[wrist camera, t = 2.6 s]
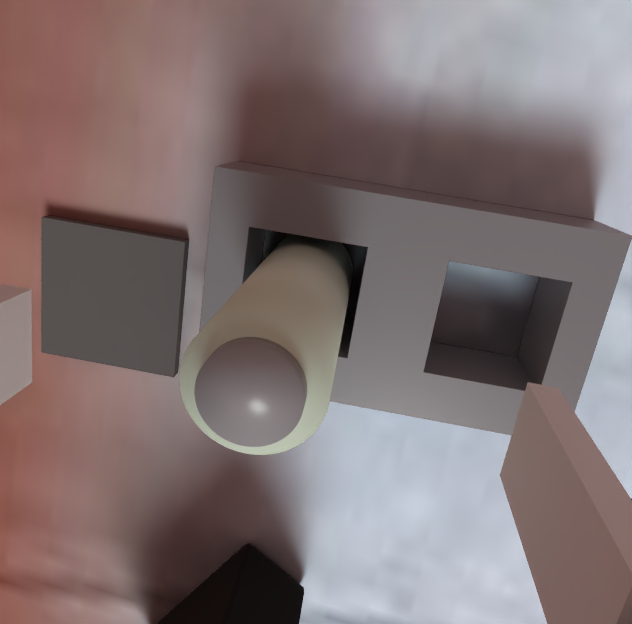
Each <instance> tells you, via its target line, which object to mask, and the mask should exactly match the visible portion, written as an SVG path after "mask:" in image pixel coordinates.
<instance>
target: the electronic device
mask: <svg viewBox="0 0 632 624" xmlns="http://www.w3.org/2000/svg"><path fill="white" fill-rule="evenodd" d="M303 595H304V588H303V587H302V586H301V585H300V584H299V583H297V582H296V581H295V580H294V579H292V578H291V577H290V576H289V575H288V574H286V573H285V572H284V571H283V570H281V569H280V568H279V567H278V566H276V565H275V564H274V563H273V562H272V561H270V560H269V559H268V558H267V557H265V556H264V555H263V554H262V553H261V552H259V551H258V550H257V549H256V548H254V547H253V546H252V545H251V544H246V545H245V546H243V547H242V548H241V549H240V550H239V551H238V552H237V553H236V554H234V555H233V556H232V557H231V558H230V559H229V560H228V561H227V562H225V563H224V564H223V565H222V566H221V567H220V568H219V569H218V570H217V571H215V572H214V573H213V574H212V575H211V576H210V577H209V578H208V579H207V580H205V581H204V582H203V583H202V584H201V585H200V586H199V587H198V588H196V589H195V590H194V591H193V592H192V593H191V594H190V595H189V596H188V597H186V598H185V599H184V600H183V601H182V602H181V603H180V604H179V605H178V606H176V607H175V608H174V609H173V610H172V611H171V612H170V613H169V614H167V615H166V616H165V617H164V618H163V619H162V620H161V621H160V622H159V623H158V624H299V620H300V614H301V608H302V602H303Z"/></svg>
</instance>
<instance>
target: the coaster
mask: <svg viewBox="0 0 632 624" xmlns="http://www.w3.org/2000/svg"><path fill="white" fill-rule="evenodd" d="M188 245H189V240H187V239H181V238H175V237H170V236H164V235H158V234H153V233H147V232H141V231H135V230H130V229H124V228H118V227H112V226H107V225H101V224H95V223H89V222H84V221H78V220H72V219H67V218H61V217H55V216H49V215H48V216H44V217H42V352H43V353H48V354H53V355H59V356H64V357H69V358H75V359H80V360H85V361H91V362H96V363H101V364H107V365H112V366H117V367H123V368H128V369H133V370H138V371H144V372H149V373H154V374H160V375H165V376H170V377H174V376H175V375H176V374H177V373H178V365H179V353H180V341H181V329H182V317H183V305H184V293H185V281H186V269H187V257H188Z"/></svg>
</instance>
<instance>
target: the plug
mask: <svg viewBox="0 0 632 624" xmlns="http://www.w3.org/2000/svg"><path fill="white" fill-rule="evenodd" d="M352 277H353V266H352V261H351V258H350V256H349V253H348V251H347V250H346V248H345V247H344V246H343V244H342V243H341V242H335V241H330V240H324V239H318V238H312V237H306V236H301V235H295V234H290V235H289V236H287V237H285V238H284V239H283V240H282V241H281V242H280V243H279V244H278V245H277V246H276V247H275V249H274V250H273V251H272V252H271V253H270V254H269V255H268V256H267V257H266V259H265V260H264V261H263V262H262V263H261V264H260V265H259V266H258V267H257V269H256V270H255V271H254V272H253V273H252V274H251V275H250V276H249V278H248V279H247V280H246V281H245V282H244V283H243V284H242V285H241V286H240V288H239V289H238V290H237V291H236V292H235V293H234V294H233V295H232V296H231V298H230V299H229V300H228V301H227V302H226V303H225V304H224V305H223V307H222V308H221V309H220V310H219V311H218V312H217V313H216V314H215V315H214V317H213V318H212V319H211V320H210V321H209V322H208V323H207V324H206V326H205V327H204V328H203V329H202V330H201V331H200V332H199V333H198V334H197V336H196V337H195V338H194V339H193V340H192V341H191V343H190V344H189V346H188V347H187V349H186V351H185V354H184V356H183V359H182V362H181V366H180V372H179V385H180V392H181V396H182V400H183V402H184V405H185V407H186V410H187V411H188V413H189V415H190V417H191V418H192V420H193V421H194V422H195V424H196V425H197V426H198V427H199V428H200V429H201V430H202V431H203V432H204V433H205V434H206V435H207V436H209V437H210V438H211V439H213V440H214V441H216V442H217V443H219V444H221V445H223V446H225V447H226V448H229V449H232V450H234V451H237V452H241V453H245V454H253V455H269V454H276V453H280V452H284V451H287V450H289V449H292V448H294V447H296V446H298V445H300V444H301V443H302V442H304V441H305V440H307V439H308V438H309V437H310V436H311V435H312V434H313V433H314V432H315V431H316V430H317V428H318V427H319V426H320V424H321V422H322V421H323V419H324V417H325V414H326V412H327V409H328V405H329V401H330V396H331V390H332V385H333V380H334V374H335V369H336V364H337V358H338V353H339V348H340V342H341V337H342V331H343V326H344V321H345V315H346V310H347V305H348V299H349V294H350V289H351V283H352Z"/></svg>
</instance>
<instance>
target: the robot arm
mask: <svg viewBox="0 0 632 624" xmlns="http://www.w3.org/2000/svg"><path fill="white" fill-rule="evenodd" d="M30 383H32V313H31V289H27V288H22V287H16V286H11V285H6V284H3V285H1V286H0V405H1V404H2V403H4V402H5V401H7V400H8V399H9V398H11V397H12V396H14V395H15V394H16V393H18V392H19V391H21V390H22V389H23V388H25V387H26V386H28V385H29V384H30ZM500 477H501V480H502V483H503V486H504V489H505V492H506V495H507V499H508V502H509V505H510V508H511V511H512V514H513V517H514V520H515V524H516V527H517V530H518V533H519V536H520V539H521V542H522V545H523V549H524V552H525V555H526V558H527V561H528V564H529V567H530V570H531V574H532V577H533V580H534V583H535V586H536V589H537V592H538V595H539V599H540V602H541V605H542V608H543V611H544V614H545V617H546V620H547V624H632V499H631V498H630V497H629V495H628V494H627V492H626V491H625V489H624V488H623V486H622V484H621V483H620V481H619V480H618V478H617V477H616V475H615V474H614V472H613V471H612V469H611V468H610V466H609V465H608V463H607V461H606V460H605V458H604V457H603V455H602V454H601V452H600V451H599V449H598V448H597V446H596V445H595V443H594V442H593V440H592V438H591V437H590V435H589V434H588V432H587V431H586V429H585V428H584V426H583V425H582V423H581V422H580V420H579V419H578V417H577V415H576V414H575V412H574V411H573V409H572V408H571V406H570V405H569V403H568V402H567V400H566V399H565V397H564V396H563V394H562V392H561V391H560V389H559V388H556V387H551V386H545V385H540V384H535V383H529V382H528V383H527V386H526V390H525V393H524V396H523V400H522V403H521V406H520V410H519V413H518V416H517V420H516V423H515V426H514V430H513V433H512V437H511V440H510V443H509V447H508V450H507V453H506V457H505V460H504V463H503V467H502V470H501V473H500Z"/></svg>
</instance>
